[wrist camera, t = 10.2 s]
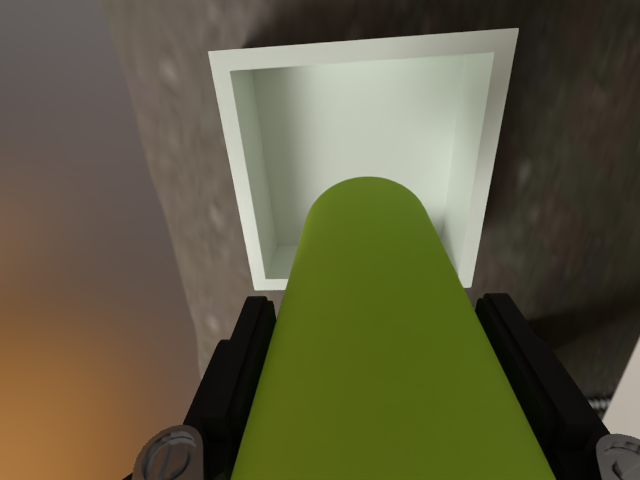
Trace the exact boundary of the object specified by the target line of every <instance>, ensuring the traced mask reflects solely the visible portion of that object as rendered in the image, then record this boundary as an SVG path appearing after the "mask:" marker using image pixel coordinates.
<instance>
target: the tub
mask: <svg viewBox="0 0 640 480" xmlns="http://www.w3.org/2000/svg"><path fill="white" fill-rule="evenodd" d="M518 31H519V28H510V29H497V30H484V31H471V32H457V33H444V34H431V35H418V36H405V37H392V38H379V39H366V40H352V41H339V42H326V43H313V44H300V45H287V46H274V47H261V48H248V49H234V50H221V51H208V54H209V59H210V64H211V70H212V75H213V80H214V85H215V90H216V95H217V100H218V105H219V110H220V116H221V121H222V126H223V131H224V136H225V141H226V146H227V151H228V157H229V162H230V167H231V172H232V177H233V182H234V187H235V192H236V197H237V203H238V208H239V213H240V218H241V223H242V228H243V233H244V238H245V244H246V249H247V254H248V259H249V264H250V269H251V274H252V279H253V284H254V290H285V289H286V286H287V282H288V279H289V275H290V272H291V268H292V265H293V261H294V258H295V254H296V251H297V248H298V244H299V241H300V237H301V234H302V230H303V227H304V223H305V220H306V217H307V214H308V212H309V210H310V208H311V206H312V205H313V203H314V202H315V201H316V200H317V198H318V197H319V196H320V195H321V194H322V193H323V192H325V191H326V190H327V189H329V188H330V187H332V186H333V185H335V184H337V183H339V182H342V181H344V180H347V179H351V178H356V177H364V176H373V177H381V178H386V179H389V180H392V181H395V182H397V183H399V184H401V185H403V186H405V187H406V188H408V189H409V190H410V191H411V192H413V193H414V194H415V195H416V196H417V197H418V199H419V200H420V201H421V203H422V204H423V206H424V207H425V209H426V211H427V213H428V216H429V218H430V220H431V222H432V224H433V226H434V228H435V230H436V232H437V234H438V236H439V238H440V240H441V242H442V244H443V247H444V249H445V251H446V253H447V255H448V257H449V259H450V261H451V263H452V265H453V267H454V269H455V271H456V273H457V275H458V278H459V280H460V282H461V284H462V286H463V288H468V287H471V285H472V279H473V274H474V269H475V263H476V258H477V253H478V247H479V242H480V236H481V231H482V226H483V220H484V215H485V209H486V204H487V199H488V193H489V188H490V182H491V177H492V172H493V166H494V161H495V155H496V150H497V145H498V139H499V134H500V128H501V123H502V118H503V112H504V107H505V101H506V96H507V91H508V85H509V80H510V74H511V69H512V64H513V58H514V53H515V47H516V42H517V37H518Z"/></svg>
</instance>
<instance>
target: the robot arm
mask: <svg viewBox="0 0 640 480" xmlns="http://www.w3.org/2000/svg"><path fill="white" fill-rule="evenodd" d="M475 313H476V315H477V317H478V319H479V321H480V323H481V325H482V327H483V329H484V331H485V333H486V335H487V338H488V340H489V342H490V344H491V346H492V348H493V350H494V352H495V354H496V356H497V358H498V360H499V362H500V364H501V367H502V369H503V371H504V373H505V375H506V377H507V379H508V381H509V383H510V385H511V387H512V389H513V391H514V393H515V395H516V398H517V400H518V402H519V404H520V406H521V408H522V410H523V412H524V414H525V416H526V418H527V420H528V422H529V424H530V427H531V429H532V431H533V433H534V435H535V437H536V439H537V441H538V443H539V445H540V447H541V449H542V451H543V453H544V455H545V458H546V460H547V462H548V464H549V466H550V468H551V470H552V472H553V474H554V476H555V478H556V480H640V440H639V439H637V438H634V437H632V436H627V435H622V434H610V432H609V431H608V429H607V428H606V427H605V425H604V424H603V422H602V421H601V419H600V418H599V417H598V415H597V414H596V412H595V411H594V409H593V408H592V407H591V405H590V404H589V402H588V401H587V399H586V398H585V396H584V395H583V394H582V392H581V391H580V389H579V388H578V386H577V385H576V384H575V382H574V381H573V379H572V378H571V376H570V375H569V374H568V372H567V371H566V369H565V368H564V366H563V365H562V364H561V362H560V361H559V359H558V358H557V356H556V355H555V354H554V352H553V351H552V349H551V348H550V346H549V345H548V344H547V343H546V342H545V341H543V340H542V339H539V338H538V337H537V336H536V334H535V333H534V331H533V330H532V328H531V327H530V325H529V324H528V322H527V321H526V319H525V318H524V316H523V315H522V313H521V312H520V311H519V309H518V308H517V306H516V305H515V303H514V302H513V300H512V299H511V297H510V296H509V295H508V294H506V293H486V294H485V295H484V297H483V298H479V299H478V300H477V304H476V309H475ZM275 324H276V315H275V309H274V304H273V301H268V300H267V297H266V296H248V297H247V299H246V301H245V303H244V306H243V308H242V311H241V313H240V316H239V318H238V321H237V323H236V326H235V328H234V331H233V333H232V336H231V338H230V340H221V341H219V343H218V345H217V347H216V349H215V351H214V353H213V356H212V358H211V360H210V363H209V365H208V367H207V369H206V372H205V374H204V376H203V379H202V381H201V383H200V386H199V388H198V390H197V393H196V395H195V397H194V399H193V402H192V404H191V406H190V409H189V411H188V413H187V415H186V418H185V420H184V422H183V425H176V426H171V427H169V428H166V429H164V430H162V431H160V432H159V433H157V434H156V435H155V436H153V437H152V438H151V439H150V440H149V441H148V442H147V443H146V444H145V445H144V446H143V448H142V450H141V451H140V453H139V454H138V456H137V458H136V462H135V465H134V468H133V473H131V474H130V475H128V476H127V477H126V478H124V479H123V480H230V479H231V476H232V472H233V469H234V466H235V462H236V459H237V455H238V452H239V448H240V445H241V441H242V438H243V434H244V431H245V427H246V424H247V421H248V417H249V414H250V410H251V407H252V403H253V400H254V396H255V393H256V389H257V386H258V383H259V379H260V376H261V372H262V369H263V365H264V362H265V358H266V355H267V351H268V348H269V344H270V341H271V338H272V334H273V331H274V327H275Z"/></svg>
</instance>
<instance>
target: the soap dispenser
mask: <svg viewBox="0 0 640 480" xmlns="http://www.w3.org/2000/svg"><path fill="white" fill-rule="evenodd" d="M230 480H556V478H555V476H554V474H553V472H552V470H551V468H550V466H549V464H548V462H547V460H546V458H545V455H544V453H543V451H542V449H541V447H540V445H539V443H538V441H537V439H536V437H535V435H534V433H533V431H532V429H531V427H530V424H529V422H528V420H527V418H526V416H525V414H524V412H523V410H522V408H521V406H520V404H519V402H518V400H517V398H516V395H515V393H514V391H513V389H512V387H511V385H510V383H509V381H508V379H507V377H506V375H505V373H504V371H503V369H502V367H501V364H500V362H499V360H498V358H497V356H496V354H495V352H494V350H493V348H492V346H491V344H490V342H489V340H488V338H487V335H486V333H485V331H484V329H483V327H482V325H481V323H480V321H479V319H478V317H477V315H476V313H475V311H474V309H473V307H472V304H471V302H470V300H469V298H468V296H467V294H466V292H465V290H464V288H463V286H462V284H461V282H460V280H459V278H458V275H457V273H456V271H455V269H454V267H453V265H452V263H451V261H450V259H449V257H448V255H447V253H446V251H445V249H444V247H443V244H442V242H441V240H440V238H439V236H438V234H437V232H436V230H435V228H434V226H433V224H432V222H431V220H430V218H429V216H428V213H427V211H426V209H425V207H424V206H423V204H422V203H421V201H420V200H419V199H418V197H417V196H416V195H415V194H414V193H413V192H411V191H410V190H409V189H408V188H406V187H405V186H403V185H401V184H399V183H397V182H395V181H392V180H389V179H386V178H381V177H373V176H364V177H356V178H351V179H347V180H344V181H342V182H339V183H337V184H335V185H333V186H332V187H330V188H329V189H327V190H326V191H325V192H323V193H322V194H321V195H320V196H319V197H318V198H317V200H316V201H315V202H314V203H313V205H312V206H311V208H310V210H309V212H308V214H307V217H306V220H305V223H304V227H303V230H302V234H301V237H300V241H299V244H298V248H297V251H296V254H295V258H294V261H293V265H292V268H291V272H290V275H289V279H288V282H287V286H286V289H285V293H284V296H283V299H282V303H281V306H280V310H279V313H278V317H277V320H276V324H275V327H274V331H273V334H272V338H271V341H270V344H269V348H268V351H267V355H266V358H265V362H264V365H263V369H262V372H261V376H260V379H259V383H258V386H257V389H256V393H255V396H254V400H253V403H252V407H251V410H250V414H249V417H248V421H247V424H246V427H245V431H244V434H243V438H242V441H241V445H240V448H239V452H238V455H237V459H236V462H235V466H234V469H233V472H232V476H231V479H230Z"/></svg>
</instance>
